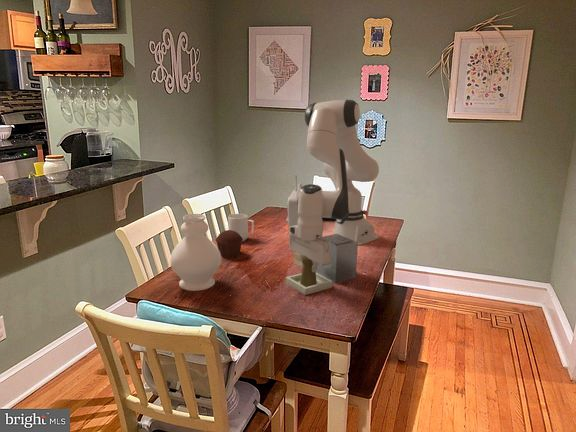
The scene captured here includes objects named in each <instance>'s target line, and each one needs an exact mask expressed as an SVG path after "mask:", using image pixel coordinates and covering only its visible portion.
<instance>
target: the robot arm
mask: <svg viewBox="0 0 576 432" xmlns="http://www.w3.org/2000/svg"><path fill="white" fill-rule="evenodd" d="M360 117H361V110H360V107H359V103H357V102H356V101H355V100H353V99H345V100H344V99H332V100H328V101H321V102H313V103H310V104H308V106H306V108H305V110H304V121H305V124H306V125H305V126H307V127H308V128H307V135H306V149H307V151H308V153H309V154H310V156H312V157H313V158H315V159H316V160H317V161H320V162H322V163H323V170H324V173H325V175H327V176H328V177H329V179H330V180H331V182H332V184H333V185H334V188H335V190H332V191H331V190H323V188H322V186H320V185H319V184H312V183H310V184H305V185H303V186H302V187H301V188H300V187H299V190H300V192H299V197H298V199H297V211H298V215H299V219H298V223H297V225H294V226H290V227H289V226H288V231H289V237H288V243H289V245H288V246H289V249H290V250H291V251H293V253H294V252H296V253H298V254H300V259H301V262H302V256H306V257H307V258H308V259H310V260H312V263H313V266H311V267H310V268H311V271H312V272H316V271H317V266H318V265H319V264H320V265H327V264H329V263H330V262H331V251H330V245H329V243H328V241H327V239H326V238H323V233H324V232H323V231H324V230H323V229H324V220H322V217H324V218H332V219H336V220H335V223H334V231H333V234H339V235H342V236H344V237H347V238H349V239H352V240H354V241H356V242H358V246H362V245H365V244H368V243H370V242H372V241H375V240H378V239H379V238H380V237H379V235H378V234H377V233H375V227H374V225H373V224H372V222H370V221H368V220H367V218H366V217H364V216H367V215H368V214H369V211H368V210H364V209H362V197H363V195H362V192H361V191H360V190H359V189H358V188H356V186H355V185H354V184H353V182H360V183H367V182H374V180H376V179H377V177H378V175H379V171H380V167H379V163H378V162H377V160H375V159H374V158H372V157H371V156H369V154H367V152H366V151H365V150H364V148H363V147H362V146H361V144H360V140H359V137H358V136H359V135H358V133H357V128H356V125H357V124H358V123H359V121H360ZM352 181H353V182H352ZM302 266H303V263H302Z"/></svg>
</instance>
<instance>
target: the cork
mask: <svg viewBox="0 0 576 432" xmlns="http://www.w3.org/2000/svg"><path fill="white" fill-rule="evenodd" d="M302 263H303V267H301V268H302V269H301V273H302V275H301V281H300V284H301V285H303V286H305V287H309V286H312V285H316V284H317V280H316V272H312V271H311V268H310V267H311V266H313V263H312V260H310V259H308V258H307V257H306V256H302Z"/></svg>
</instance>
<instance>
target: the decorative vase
mask: <svg viewBox="0 0 576 432" xmlns="http://www.w3.org/2000/svg"><path fill="white" fill-rule="evenodd" d="M182 217H183V218H182V220H183V221H184V222H183V223H182V224H181V226H180V231H181V232H182V234H183V235H185V236H184V237H183V238H182V239H181V240H180V241H179V242H178V243H177V244H176V246H175V247H174V248H173V250H172V252H171V254H170V259H169V260H170V261H169V262H170V263H169V264H170V267H171V269H172V271H173V272H174V273H175V274H176V275H177V276H178V277H179V278H180V279H181V280H180V281H179V282H178V284H179V285H178V286H179V287H180V289H182V290H185V291H190V292H196V291H197V292H198V291H204V290H208V289H210V288H212V287H213V286H214V285H215V284H216V281H215V279H214V278H213V276H214V275H215V274H216V272H217V271H219V268H220V267H221V264H222V256H221V254H220V251H219V249H218V246H217V244H215V243H214V242H213V241H212V240H211V239H210V238H209V237H208V236H206V235H205V234H206V233H208V231H209V225H208V223H207V222H206V221H204V220H206V215H204V214H202V213H188V214H186V215H183V216H182Z"/></svg>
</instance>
